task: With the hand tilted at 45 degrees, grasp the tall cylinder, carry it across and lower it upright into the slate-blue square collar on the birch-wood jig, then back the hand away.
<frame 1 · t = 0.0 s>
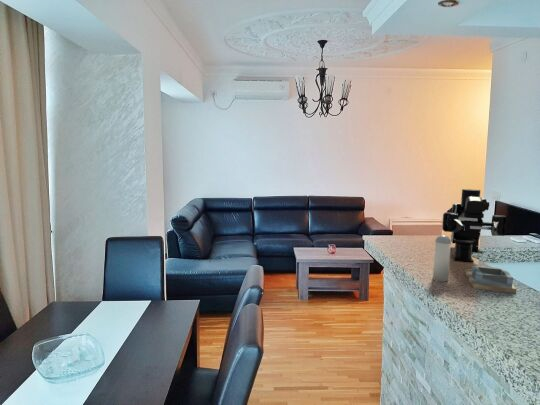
hand: (478, 228, 121), 17 cm above the table, tool horizontal, fingers open, 9 cm apart
jig: (490, 284, 119), on the table
cylinder: (440, 279, 124), on the table
build plate: (472, 251, 162), on the table
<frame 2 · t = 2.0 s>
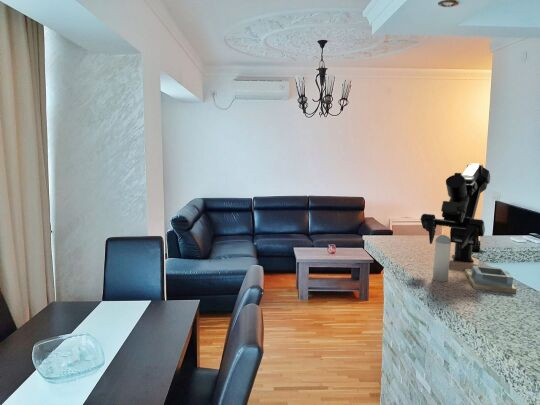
hand: (445, 245, 125), 10 cm above the table, tool tilted 45°, fingers open, 9 cm apart
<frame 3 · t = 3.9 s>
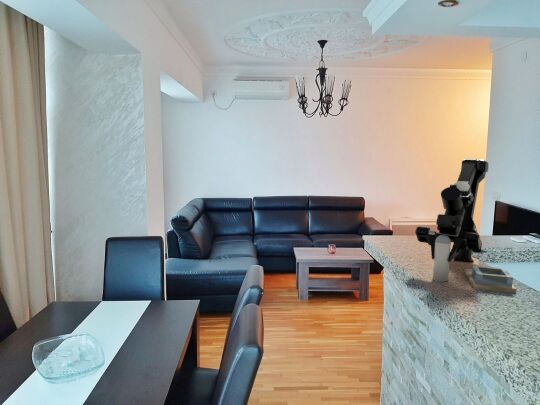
hand: (440, 260, 122), 7 cm above the table, tool tilted 45°, fingers closed on cylinder, 4 cm apart
cylinder: (440, 279, 124), on the table, touching gripper
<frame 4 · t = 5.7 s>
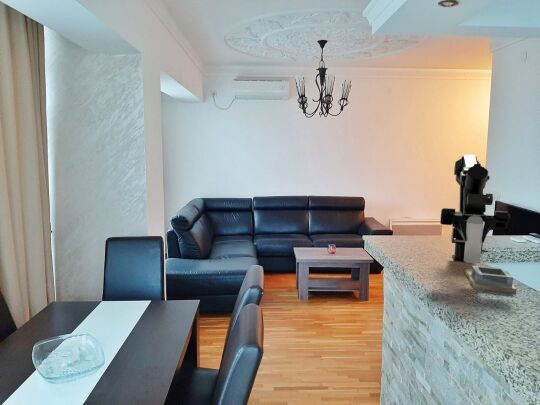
hand: (474, 241, 117), 13 cm above the table, tool tilted 45°, fingers closed on cylinder, 4 cm apart
cylinder: (471, 261, 119), point 7 cm above the table, touching gripper
when the fingers open (9 cm above the table, at t = 7.9 s): cylinder drops 1 cm, resting on jig.
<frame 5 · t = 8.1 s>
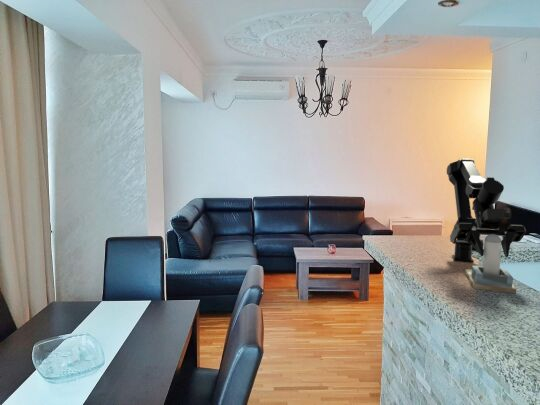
hand: (494, 256, 117), 9 cm above the table, tool tilted 45°, fingers open, 6 cm apart
cylinder: (490, 280, 119), point 1 cm above the table, touching jig
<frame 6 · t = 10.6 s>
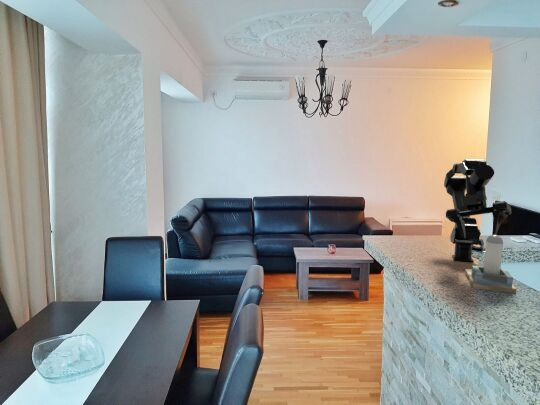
hand: (479, 236, 128), 13 cm above the table, tool tilted 30°, fingers open, 9 cm apart
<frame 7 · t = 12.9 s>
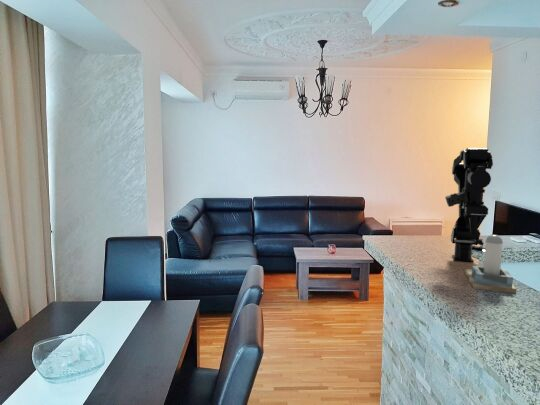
hand: (470, 231, 134), 13 cm above the table, tool pointing down, fingers open, 9 cm apart
at the end: cylinder 0.0 cm off-centre on the jig, point 1.2 cm above the jig's base; cylinder tilted 0°; the gripper is holding nothing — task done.
